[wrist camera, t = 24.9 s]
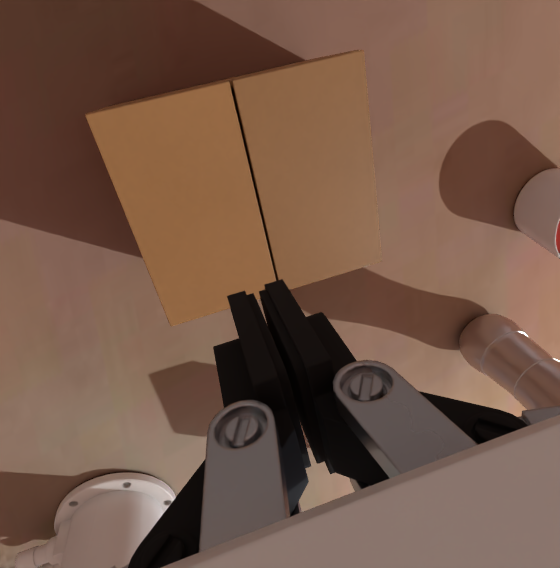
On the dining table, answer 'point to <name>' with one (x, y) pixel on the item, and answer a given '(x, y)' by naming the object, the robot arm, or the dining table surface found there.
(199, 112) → the flap
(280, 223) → the carton
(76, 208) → the dining table surface
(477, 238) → the dining table surface
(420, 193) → the dining table surface
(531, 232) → the white cup
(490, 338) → the silver metal bottle
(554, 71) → the dining table surface
